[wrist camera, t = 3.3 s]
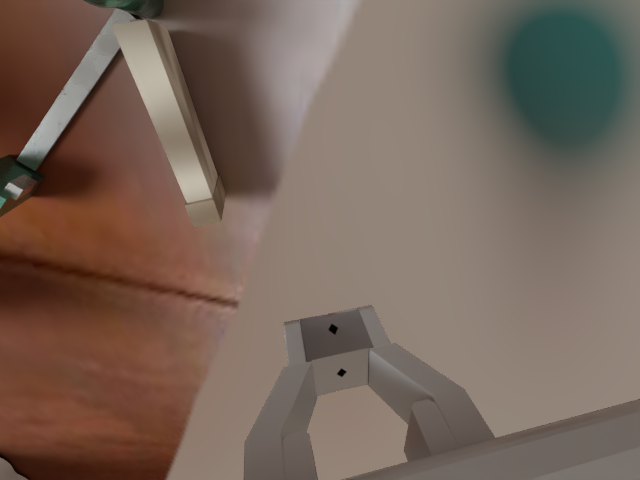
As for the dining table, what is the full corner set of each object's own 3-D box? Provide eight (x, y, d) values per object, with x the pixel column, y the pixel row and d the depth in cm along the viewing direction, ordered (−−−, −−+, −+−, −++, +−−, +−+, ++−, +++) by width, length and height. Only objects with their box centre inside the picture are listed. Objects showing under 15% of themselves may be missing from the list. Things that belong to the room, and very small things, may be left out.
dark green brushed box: (35, 199, 24) (-5, 226, 20) (-6, 177, 23) (-57, 201, 19) (55, 170, 23) (18, 192, 19) (14, 145, 22) (-34, 165, 18)
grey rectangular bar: (136, 27, 19) (103, 19, 15) (167, 22, 19) (144, 13, 15) (203, 198, 26) (194, 227, 22) (225, 194, 26) (221, 221, 22)
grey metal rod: (38, 169, 23) (34, 170, 22) (19, 158, 22) (16, 160, 22) (139, 21, 20) (137, 21, 19) (121, 4, 19) (119, 3, 19)
